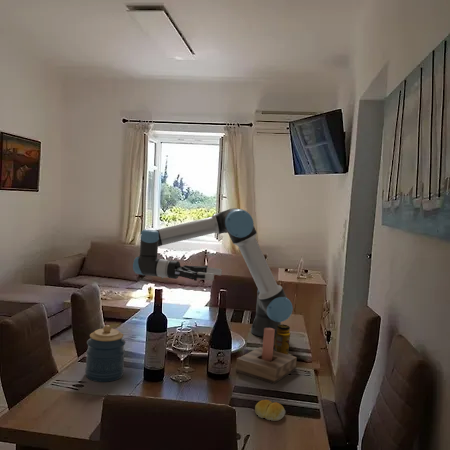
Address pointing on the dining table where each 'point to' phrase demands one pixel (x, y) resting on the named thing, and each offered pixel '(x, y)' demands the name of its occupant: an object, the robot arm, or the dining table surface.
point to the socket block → (266, 365)
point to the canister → (105, 355)
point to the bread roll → (269, 410)
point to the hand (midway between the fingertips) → (217, 274)
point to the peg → (268, 344)
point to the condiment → (282, 339)
